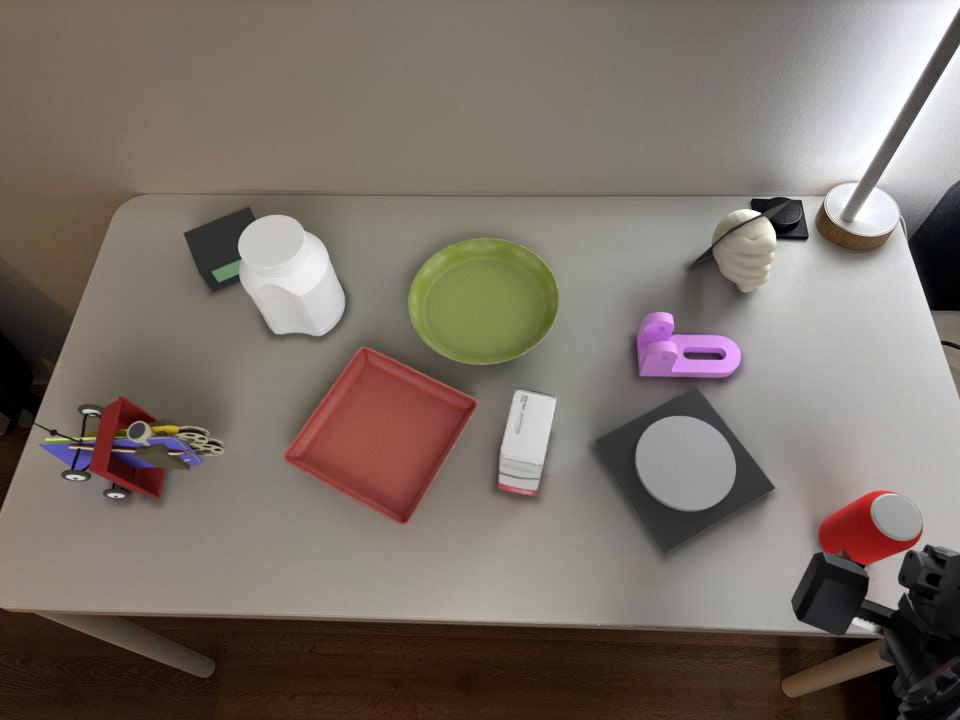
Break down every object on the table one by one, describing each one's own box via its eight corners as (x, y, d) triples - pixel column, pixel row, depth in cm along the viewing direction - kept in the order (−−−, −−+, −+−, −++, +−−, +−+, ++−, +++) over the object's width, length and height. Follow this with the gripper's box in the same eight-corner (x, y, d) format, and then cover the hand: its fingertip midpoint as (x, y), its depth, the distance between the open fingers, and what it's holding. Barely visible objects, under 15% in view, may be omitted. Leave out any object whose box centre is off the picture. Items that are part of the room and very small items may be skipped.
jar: (350, 280, 95) (324, 211, 81) (338, 337, 90) (309, 274, 77) (274, 277, 96) (235, 208, 82) (258, 333, 91) (215, 270, 78)
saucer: (587, 299, 92) (590, 286, 89) (495, 404, 85) (495, 394, 82) (474, 228, 98) (473, 214, 95) (380, 320, 91) (376, 308, 88)
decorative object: (772, 283, 94) (715, 311, 92) (735, 223, 96) (678, 250, 94) (825, 247, 82) (761, 280, 80) (782, 179, 83) (718, 209, 81)
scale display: (278, 266, 96) (267, 245, 92) (213, 293, 95) (199, 273, 90) (260, 228, 100) (248, 206, 96) (197, 254, 98) (183, 232, 94)
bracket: (639, 376, 86) (649, 350, 79) (636, 339, 88) (646, 311, 82) (740, 378, 85) (758, 352, 79) (734, 340, 87) (751, 313, 81)
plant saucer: (366, 354, 89) (361, 342, 86) (482, 411, 84) (481, 400, 81) (287, 467, 82) (279, 458, 79) (410, 535, 77) (406, 529, 74)
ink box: (538, 498, 78) (542, 466, 68) (497, 489, 79) (495, 456, 69) (551, 433, 82) (557, 393, 72) (512, 425, 83) (512, 384, 73)
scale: (769, 493, 78) (778, 485, 75) (664, 554, 75) (670, 548, 72) (692, 393, 84) (698, 383, 81) (594, 446, 81) (596, 437, 79)
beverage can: (881, 562, 73) (944, 538, 63) (830, 576, 73) (884, 554, 62) (854, 510, 76) (910, 479, 66) (804, 523, 76) (852, 493, 65)
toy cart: (96, 437, 86) (241, 422, 84) (79, 507, 81) (232, 492, 80) (-7, 381, 71) (167, 361, 69) (-34, 462, 66) (151, 443, 64)
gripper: (1163, 659, 43) (1044, 539, 57) (865, 551, 47) (824, 464, 61) (1072, 778, 46) (982, 637, 61) (803, 669, 50) (778, 560, 65)
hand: (891, 572), depth 62 cm, fingers open, 9 cm apart
